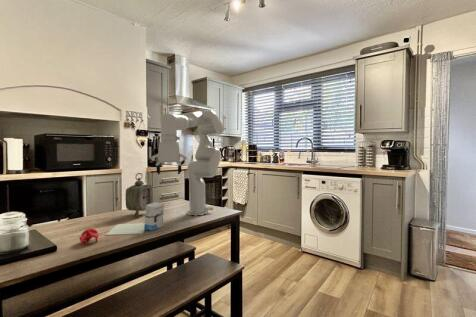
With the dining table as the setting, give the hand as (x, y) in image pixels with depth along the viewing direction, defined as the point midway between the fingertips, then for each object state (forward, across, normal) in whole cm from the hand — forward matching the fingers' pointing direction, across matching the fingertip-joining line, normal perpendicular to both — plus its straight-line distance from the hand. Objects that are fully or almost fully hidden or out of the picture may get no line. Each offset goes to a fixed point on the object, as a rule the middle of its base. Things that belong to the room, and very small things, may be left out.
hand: (169, 173), depth 126 cm
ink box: (+27, +8, 0) cm, 28 cm away
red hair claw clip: (+27, +30, +16) cm, 44 cm away
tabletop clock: (+27, +21, -27) cm, 43 cm away
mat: (+27, +19, 0) cm, 33 cm away
